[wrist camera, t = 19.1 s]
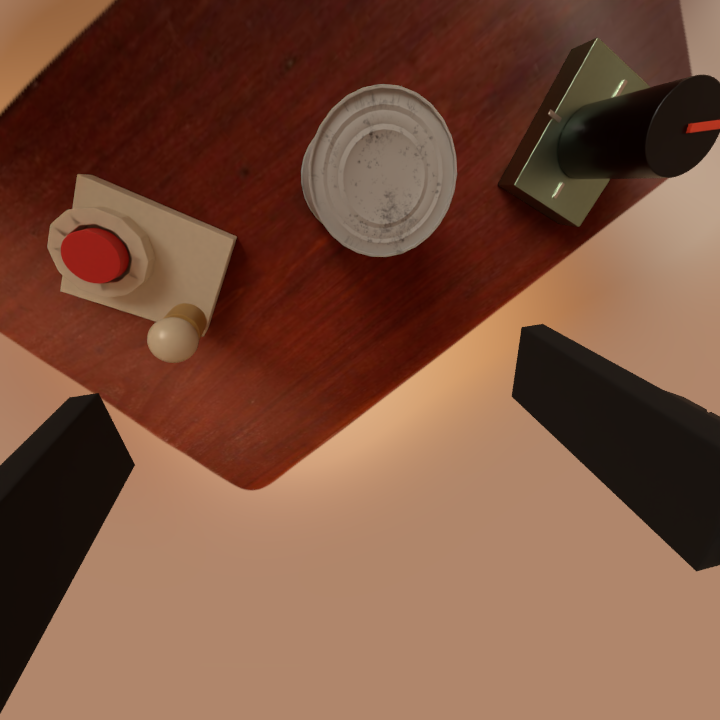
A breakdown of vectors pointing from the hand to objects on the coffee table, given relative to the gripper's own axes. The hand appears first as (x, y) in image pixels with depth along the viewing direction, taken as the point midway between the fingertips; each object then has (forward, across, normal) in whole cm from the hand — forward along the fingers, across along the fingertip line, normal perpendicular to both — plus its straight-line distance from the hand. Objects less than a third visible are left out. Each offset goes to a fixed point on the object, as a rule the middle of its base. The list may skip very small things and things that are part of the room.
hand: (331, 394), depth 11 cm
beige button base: (+27, -13, +1) cm, 30 cm away
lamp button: (+23, -16, +2) cm, 28 cm away
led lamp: (+23, -11, -4) cm, 26 cm away
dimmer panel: (+27, +27, +7) cm, 39 cm away
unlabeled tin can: (+27, +6, +6) cm, 28 cm away
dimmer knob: (+24, +27, +7) cm, 37 cm away
